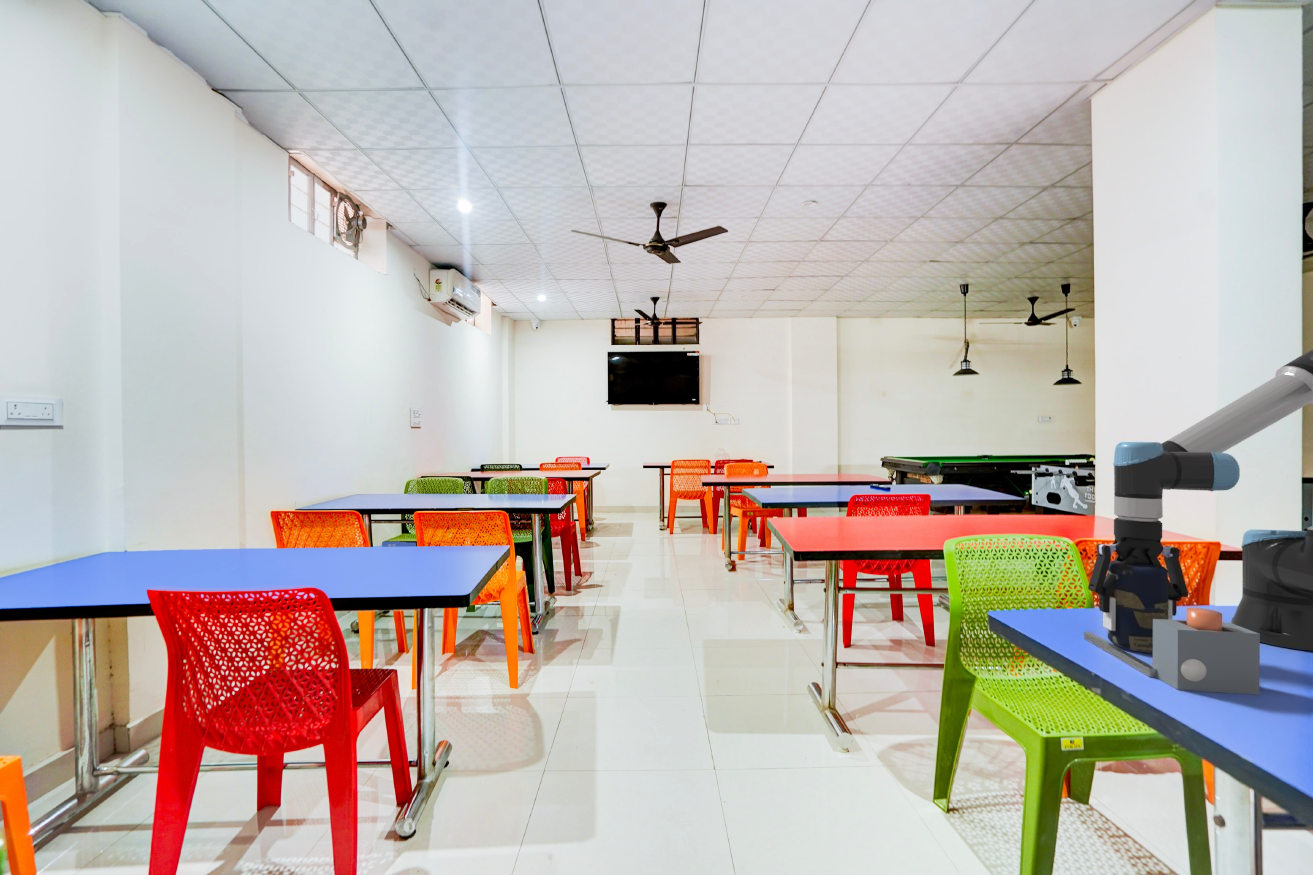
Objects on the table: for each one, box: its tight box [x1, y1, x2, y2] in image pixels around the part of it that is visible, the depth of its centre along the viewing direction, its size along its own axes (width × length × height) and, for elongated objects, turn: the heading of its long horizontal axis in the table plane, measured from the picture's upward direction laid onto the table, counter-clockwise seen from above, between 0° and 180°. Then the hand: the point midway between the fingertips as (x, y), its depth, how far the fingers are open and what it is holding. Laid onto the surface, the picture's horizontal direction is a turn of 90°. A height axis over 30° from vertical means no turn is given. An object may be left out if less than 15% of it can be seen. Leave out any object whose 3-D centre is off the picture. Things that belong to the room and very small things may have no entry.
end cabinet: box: [1152, 619, 1261, 696], centre depth 99 cm, size 12×6×10 cm, turn 81°
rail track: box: [1083, 631, 1158, 679], centre depth 111 cm, size 15×20×2 cm
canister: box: [1106, 560, 1169, 654], centre depth 117 cm, size 10×10×18 cm
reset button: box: [1186, 607, 1223, 631], centre depth 100 cm, size 4×4×4 cm
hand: (1137, 629), depth 117 cm, fingers closed on canister, 9 cm apart
